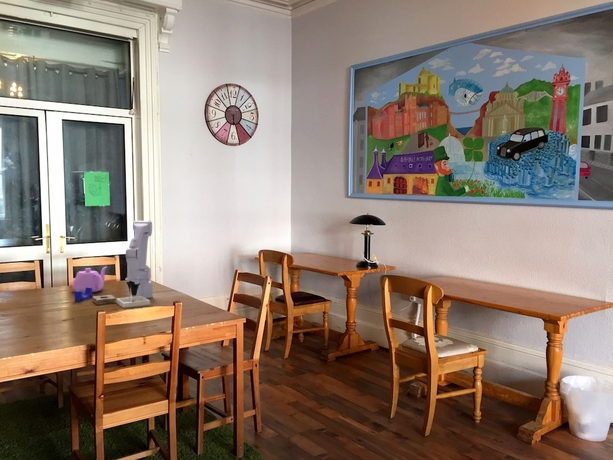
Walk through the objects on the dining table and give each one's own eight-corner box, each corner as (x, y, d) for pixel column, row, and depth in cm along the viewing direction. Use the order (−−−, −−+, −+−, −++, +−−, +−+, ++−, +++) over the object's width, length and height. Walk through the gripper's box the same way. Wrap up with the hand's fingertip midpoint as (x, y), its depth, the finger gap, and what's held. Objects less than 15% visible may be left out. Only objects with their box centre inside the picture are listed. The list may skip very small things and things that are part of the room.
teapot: (118, 290, 327) (118, 267, 326) (87, 295, 309) (86, 272, 308) (95, 285, 339) (95, 264, 338) (64, 291, 321) (63, 268, 319)
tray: (142, 300, 300) (142, 295, 300) (150, 305, 289) (150, 300, 288) (116, 302, 292) (116, 298, 292) (123, 308, 281) (123, 303, 280)
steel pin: (134, 300, 292) (134, 284, 291) (135, 301, 290) (135, 285, 289) (129, 301, 291) (129, 284, 290) (130, 302, 288) (130, 285, 288)
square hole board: (111, 299, 301) (111, 294, 301) (116, 302, 293) (116, 298, 293) (92, 301, 296) (92, 296, 296) (96, 304, 288) (96, 300, 287)
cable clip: (84, 297, 306) (84, 286, 306) (92, 297, 305) (92, 287, 305) (72, 301, 294) (72, 290, 294) (79, 302, 294) (79, 291, 293)
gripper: (121, 268, 293) (121, 293, 294) (129, 272, 281) (129, 298, 282) (134, 267, 296) (134, 292, 298) (142, 271, 285) (142, 296, 286)
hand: (133, 295), depth 290 cm, fingers closed on steel pin, 3 cm apart
